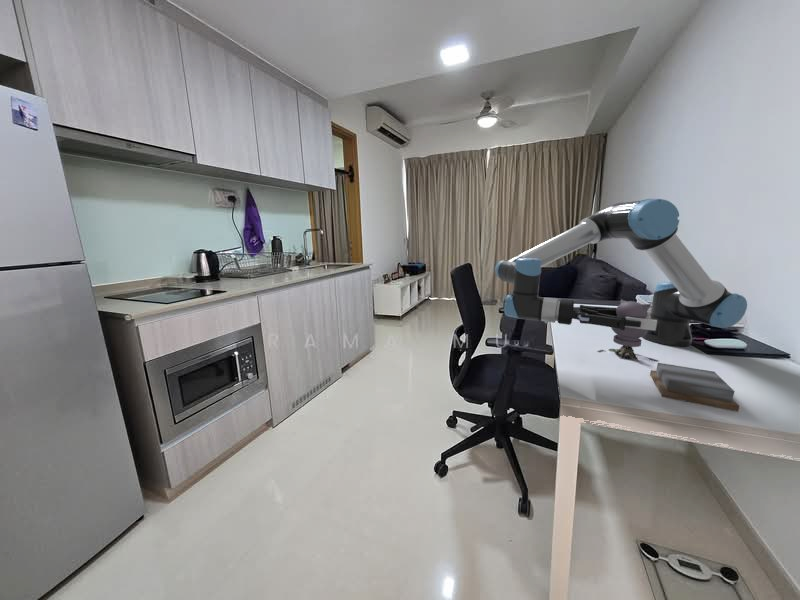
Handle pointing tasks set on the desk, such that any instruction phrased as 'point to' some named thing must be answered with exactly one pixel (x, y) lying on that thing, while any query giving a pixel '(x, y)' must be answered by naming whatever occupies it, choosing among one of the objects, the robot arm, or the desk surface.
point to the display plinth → (693, 386)
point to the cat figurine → (628, 334)
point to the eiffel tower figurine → (626, 353)
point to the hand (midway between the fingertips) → (652, 321)
